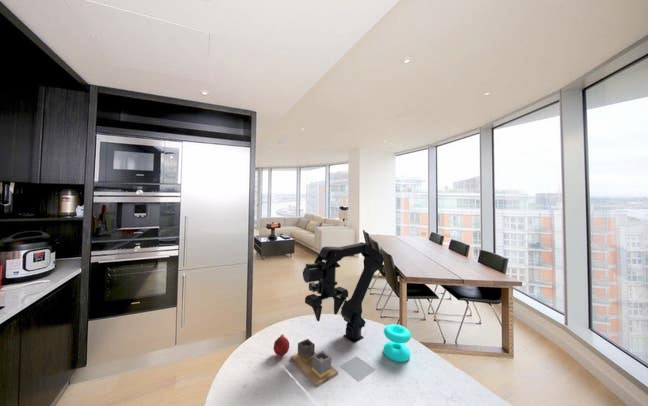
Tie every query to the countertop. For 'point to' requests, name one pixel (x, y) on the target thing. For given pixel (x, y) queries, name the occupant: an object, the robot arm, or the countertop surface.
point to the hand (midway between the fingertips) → (326, 317)
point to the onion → (281, 346)
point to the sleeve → (321, 364)
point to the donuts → (397, 343)
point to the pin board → (310, 362)
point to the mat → (357, 368)
